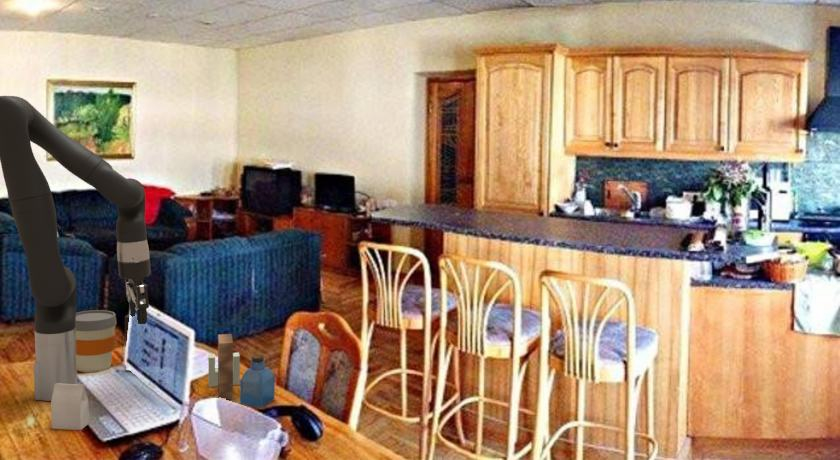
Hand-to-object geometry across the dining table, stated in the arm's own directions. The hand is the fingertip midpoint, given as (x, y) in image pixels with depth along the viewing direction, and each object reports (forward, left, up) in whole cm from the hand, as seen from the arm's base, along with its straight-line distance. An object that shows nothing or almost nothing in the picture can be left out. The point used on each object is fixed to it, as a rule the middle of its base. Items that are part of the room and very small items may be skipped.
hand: (138, 319), depth 185 cm
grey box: (-14, -19, -20) cm, 31 cm away
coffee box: (0, +18, -20) cm, 26 cm away
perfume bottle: (+29, -13, -20) cm, 37 cm away
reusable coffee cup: (-14, +23, -20) cm, 33 cm away
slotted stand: (+21, +2, -19) cm, 29 cm away
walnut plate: (+21, -6, -19) cm, 29 cm away
